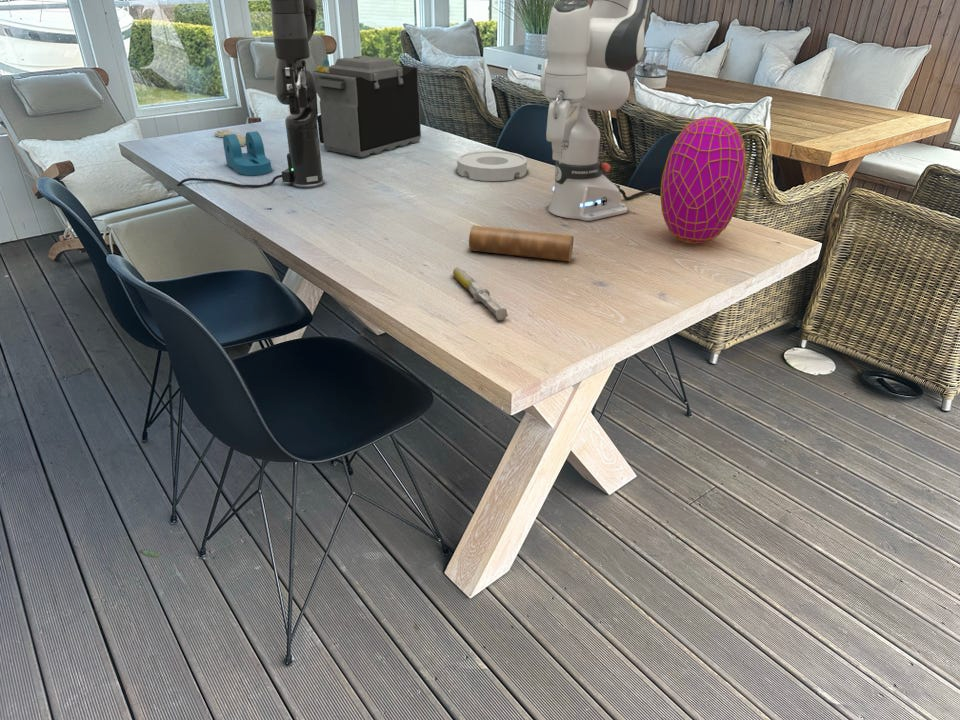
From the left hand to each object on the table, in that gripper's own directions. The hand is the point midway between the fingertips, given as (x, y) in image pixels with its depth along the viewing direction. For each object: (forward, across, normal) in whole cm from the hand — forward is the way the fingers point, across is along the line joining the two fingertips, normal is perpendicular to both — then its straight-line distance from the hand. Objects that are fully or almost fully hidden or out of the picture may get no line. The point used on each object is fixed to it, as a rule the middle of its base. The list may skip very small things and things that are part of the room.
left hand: (299, 110), depth 163 cm
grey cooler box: (+30, +93, -4) cm, 98 cm away
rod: (+30, -15, -53) cm, 63 cm away
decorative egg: (+30, -5, -97) cm, 102 cm away
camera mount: (+30, +60, +32) cm, 75 cm away
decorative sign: (+30, +104, +50) cm, 119 cm away
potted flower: (+30, +138, +19) cm, 142 cm away
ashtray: (+30, +59, -48) cm, 82 cm away
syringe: (+30, -39, -42) cm, 65 cm away
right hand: (+5, -18, -60) cm, 63 cm away
